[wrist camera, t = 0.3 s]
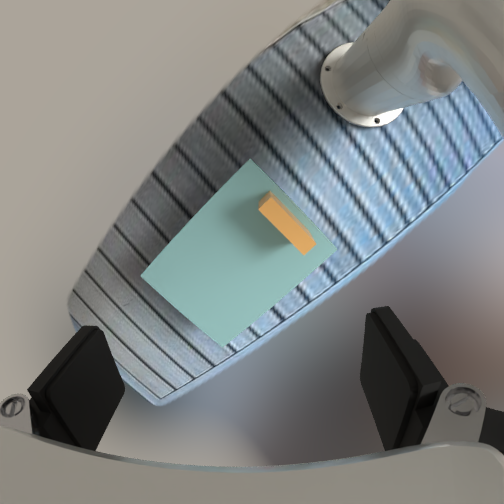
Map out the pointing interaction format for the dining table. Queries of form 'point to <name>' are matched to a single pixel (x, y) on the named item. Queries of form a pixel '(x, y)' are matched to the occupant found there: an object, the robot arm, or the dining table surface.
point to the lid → (238, 255)
